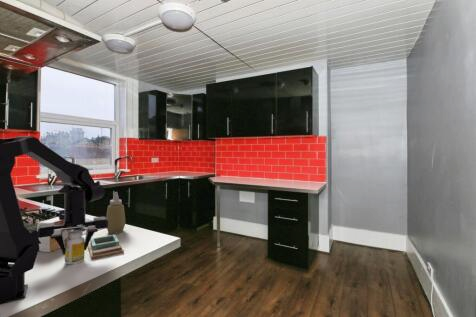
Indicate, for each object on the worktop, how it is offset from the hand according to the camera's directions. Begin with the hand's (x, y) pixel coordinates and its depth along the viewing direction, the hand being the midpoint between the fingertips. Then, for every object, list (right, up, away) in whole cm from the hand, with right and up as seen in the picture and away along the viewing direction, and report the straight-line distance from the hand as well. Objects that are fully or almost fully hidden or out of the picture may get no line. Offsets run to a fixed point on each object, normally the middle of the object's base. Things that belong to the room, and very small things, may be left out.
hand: (74, 251), depth 80 cm
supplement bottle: (0, -3, 0) cm, 3 cm away
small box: (-15, -3, +10) cm, 18 cm away
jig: (+5, -3, +10) cm, 11 cm away
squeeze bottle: (-1, -2, +29) cm, 29 cm away
